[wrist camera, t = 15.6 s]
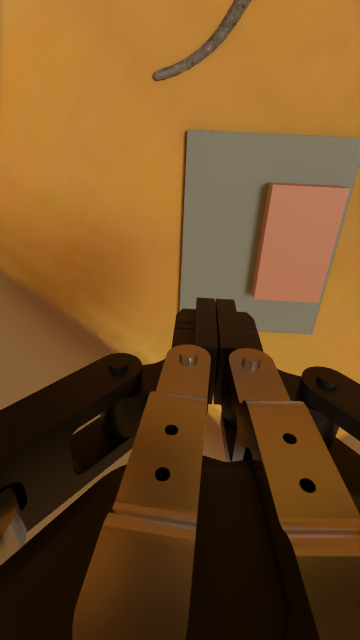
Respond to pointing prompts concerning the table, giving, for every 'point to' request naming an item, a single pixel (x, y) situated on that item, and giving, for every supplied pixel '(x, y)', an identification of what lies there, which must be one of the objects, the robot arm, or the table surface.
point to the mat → (250, 214)
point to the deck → (297, 240)
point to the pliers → (209, 46)
